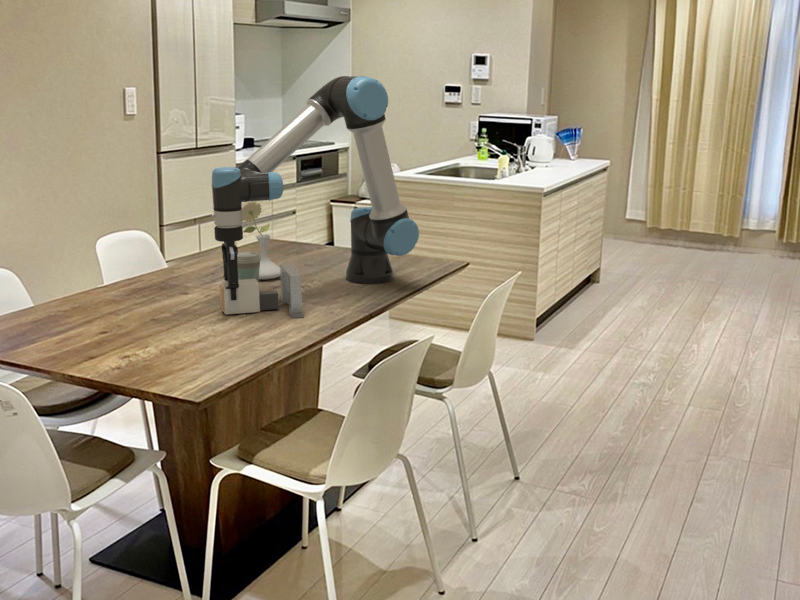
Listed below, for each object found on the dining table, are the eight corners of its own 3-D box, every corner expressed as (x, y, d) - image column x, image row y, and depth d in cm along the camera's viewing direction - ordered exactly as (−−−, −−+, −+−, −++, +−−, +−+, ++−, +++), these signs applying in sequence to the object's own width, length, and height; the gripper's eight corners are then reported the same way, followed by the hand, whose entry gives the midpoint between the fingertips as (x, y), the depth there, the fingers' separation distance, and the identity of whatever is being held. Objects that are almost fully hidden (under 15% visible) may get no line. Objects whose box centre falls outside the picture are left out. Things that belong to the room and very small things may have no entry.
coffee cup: (256, 297, 261) (254, 257, 258) (229, 296, 263) (227, 256, 260) (266, 290, 269) (265, 251, 266) (239, 289, 271) (238, 250, 268)
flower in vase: (279, 272, 292) (276, 197, 285) (285, 280, 281) (283, 202, 275) (239, 275, 288) (235, 199, 281) (244, 283, 277) (241, 204, 271)
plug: (276, 304, 252) (275, 277, 250) (279, 310, 246) (278, 282, 244) (220, 308, 247) (219, 281, 245) (223, 314, 242) (221, 286, 240)
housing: (290, 298, 260) (288, 261, 257) (303, 317, 241) (302, 277, 238) (279, 299, 259) (278, 261, 256) (292, 318, 240) (291, 278, 237)
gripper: (210, 220, 247) (215, 300, 253) (217, 232, 229) (222, 318, 235) (237, 218, 249) (241, 298, 255) (247, 231, 231) (250, 316, 237)
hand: (232, 307), depth 245 cm, fingers closed on plug, 6 cm apart
